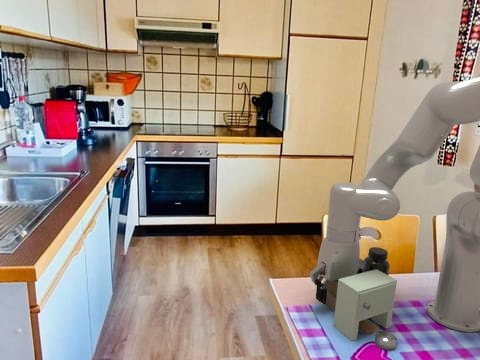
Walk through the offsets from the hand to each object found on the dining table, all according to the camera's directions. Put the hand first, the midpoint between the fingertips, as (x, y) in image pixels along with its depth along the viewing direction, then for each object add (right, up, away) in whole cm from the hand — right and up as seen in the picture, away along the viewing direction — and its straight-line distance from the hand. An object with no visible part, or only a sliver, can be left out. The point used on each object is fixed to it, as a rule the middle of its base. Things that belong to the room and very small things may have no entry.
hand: (335, 297), depth 99 cm
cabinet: (+4, -5, -7) cm, 10 cm away
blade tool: (+3, -4, -4) cm, 6 cm away
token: (+8, -6, -13) cm, 17 cm away
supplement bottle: (+12, -1, +9) cm, 15 cm away
